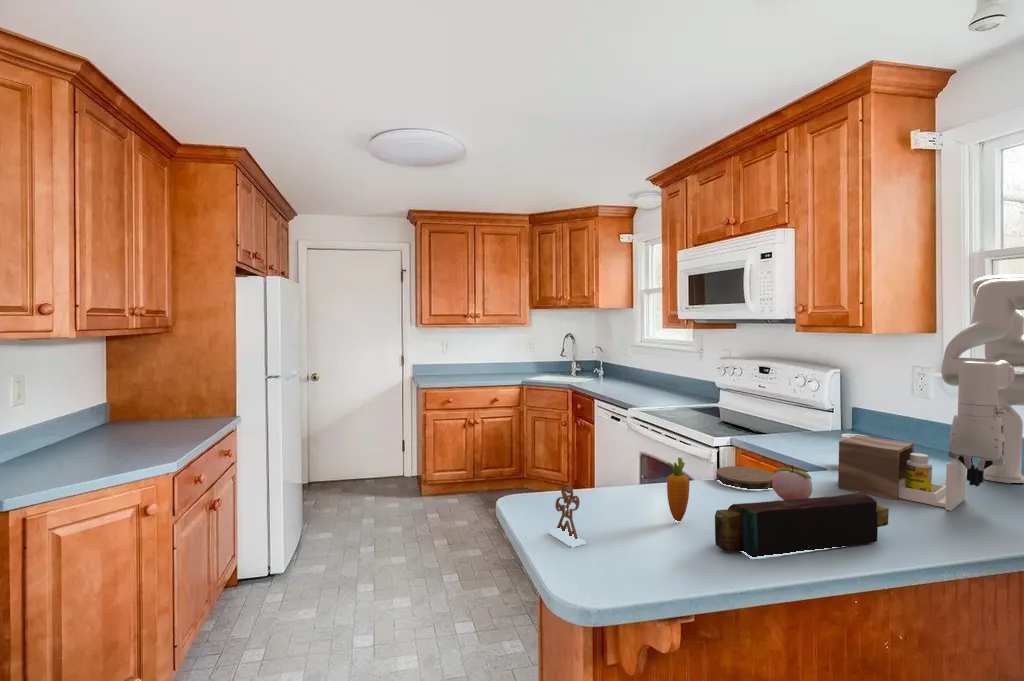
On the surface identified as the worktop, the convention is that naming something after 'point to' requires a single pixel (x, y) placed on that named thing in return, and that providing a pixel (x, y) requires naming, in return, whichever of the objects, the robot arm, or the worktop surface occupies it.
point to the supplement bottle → (918, 472)
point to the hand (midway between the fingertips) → (974, 484)
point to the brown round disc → (745, 477)
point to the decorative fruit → (792, 484)
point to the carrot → (677, 490)
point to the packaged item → (799, 524)
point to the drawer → (940, 489)
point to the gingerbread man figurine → (567, 513)
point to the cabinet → (873, 465)
